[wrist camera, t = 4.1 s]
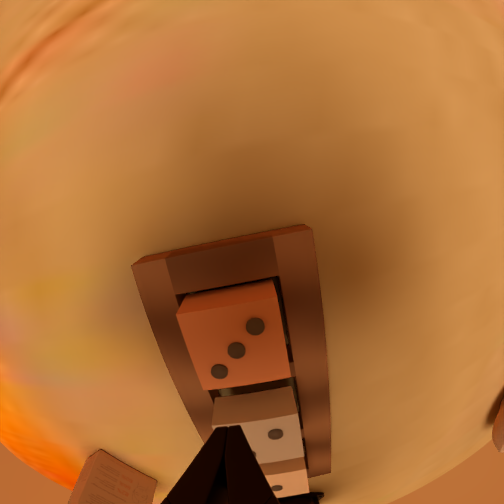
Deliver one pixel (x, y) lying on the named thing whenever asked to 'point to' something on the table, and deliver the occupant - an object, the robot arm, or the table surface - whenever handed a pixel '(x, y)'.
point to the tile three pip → (235, 335)
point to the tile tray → (295, 312)
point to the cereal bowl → (499, 429)
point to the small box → (111, 483)
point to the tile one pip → (286, 477)
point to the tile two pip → (264, 422)
